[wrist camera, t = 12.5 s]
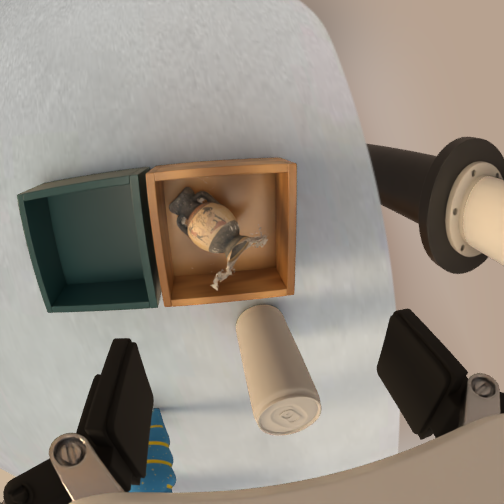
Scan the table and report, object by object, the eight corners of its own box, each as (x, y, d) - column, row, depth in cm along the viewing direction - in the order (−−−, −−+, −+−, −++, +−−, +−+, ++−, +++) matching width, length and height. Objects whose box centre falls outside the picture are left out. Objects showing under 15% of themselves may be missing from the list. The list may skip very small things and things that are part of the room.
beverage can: (264, 292, 29) (300, 385, 18) (292, 322, 31) (335, 411, 20) (224, 322, 29) (240, 421, 18) (255, 348, 31) (281, 443, 20)
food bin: (280, 157, 24) (296, 163, 20) (280, 269, 28) (294, 294, 24) (155, 165, 23) (145, 173, 19) (169, 279, 27) (164, 307, 23)
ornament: (172, 423, 34) (173, 526, 21) (133, 416, 33) (123, 519, 19) (179, 400, 33) (181, 514, 19) (136, 391, 31) (123, 505, 18)
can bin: (149, 166, 23) (137, 174, 19) (163, 280, 27) (158, 307, 23) (42, 183, 22) (16, 195, 17) (65, 287, 25) (47, 313, 21)
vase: (202, 263, 26) (153, 211, 23) (252, 221, 26) (206, 165, 23) (214, 293, 21) (152, 231, 18) (275, 242, 21) (220, 173, 18)
